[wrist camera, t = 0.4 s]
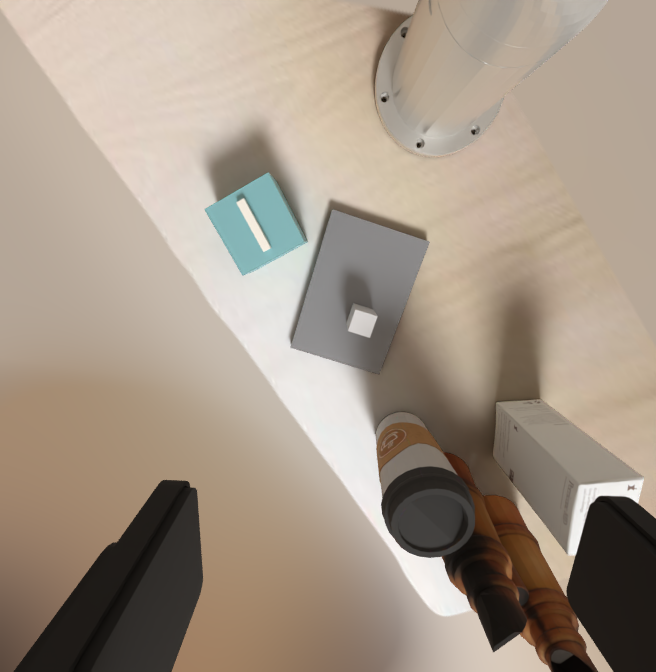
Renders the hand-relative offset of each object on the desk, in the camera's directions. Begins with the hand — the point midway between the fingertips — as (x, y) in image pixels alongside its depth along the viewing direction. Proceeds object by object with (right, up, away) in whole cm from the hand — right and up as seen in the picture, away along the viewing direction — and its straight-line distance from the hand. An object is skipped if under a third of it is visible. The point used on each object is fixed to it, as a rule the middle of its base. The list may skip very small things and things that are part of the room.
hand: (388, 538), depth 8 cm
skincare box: (+23, -7, +36) cm, 43 cm away
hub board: (+2, +9, +32) cm, 33 cm away
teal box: (-8, +17, +30) cm, 35 cm away
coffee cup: (+8, -7, +36) cm, 38 cm away
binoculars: (+17, -17, +39) cm, 46 cm away
